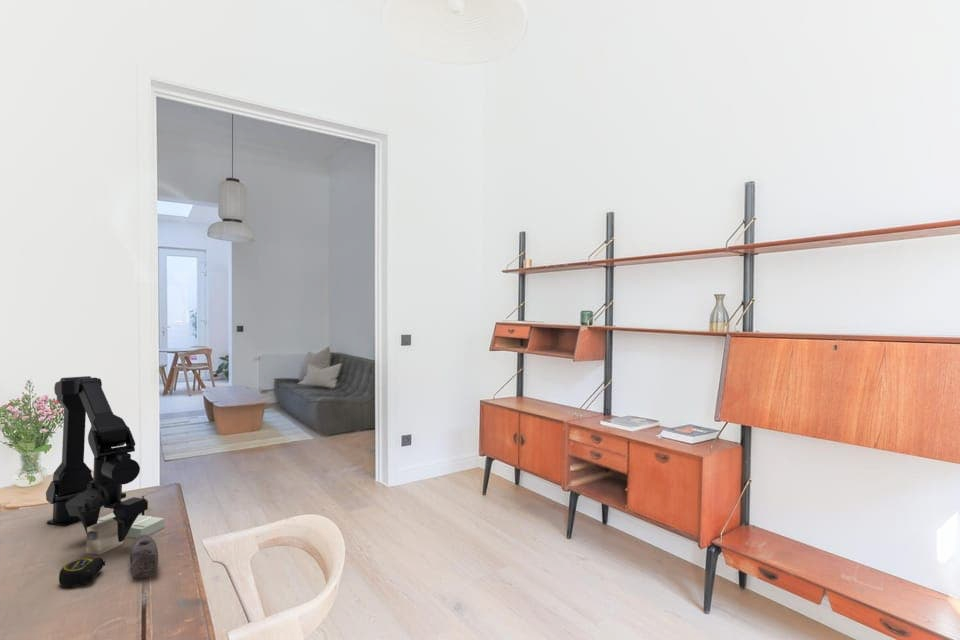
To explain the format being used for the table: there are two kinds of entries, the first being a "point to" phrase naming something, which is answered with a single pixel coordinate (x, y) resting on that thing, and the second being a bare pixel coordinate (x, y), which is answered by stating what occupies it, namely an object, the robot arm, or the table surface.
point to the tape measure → (80, 571)
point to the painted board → (141, 525)
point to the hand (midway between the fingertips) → (105, 538)
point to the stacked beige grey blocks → (102, 536)
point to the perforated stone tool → (143, 557)
